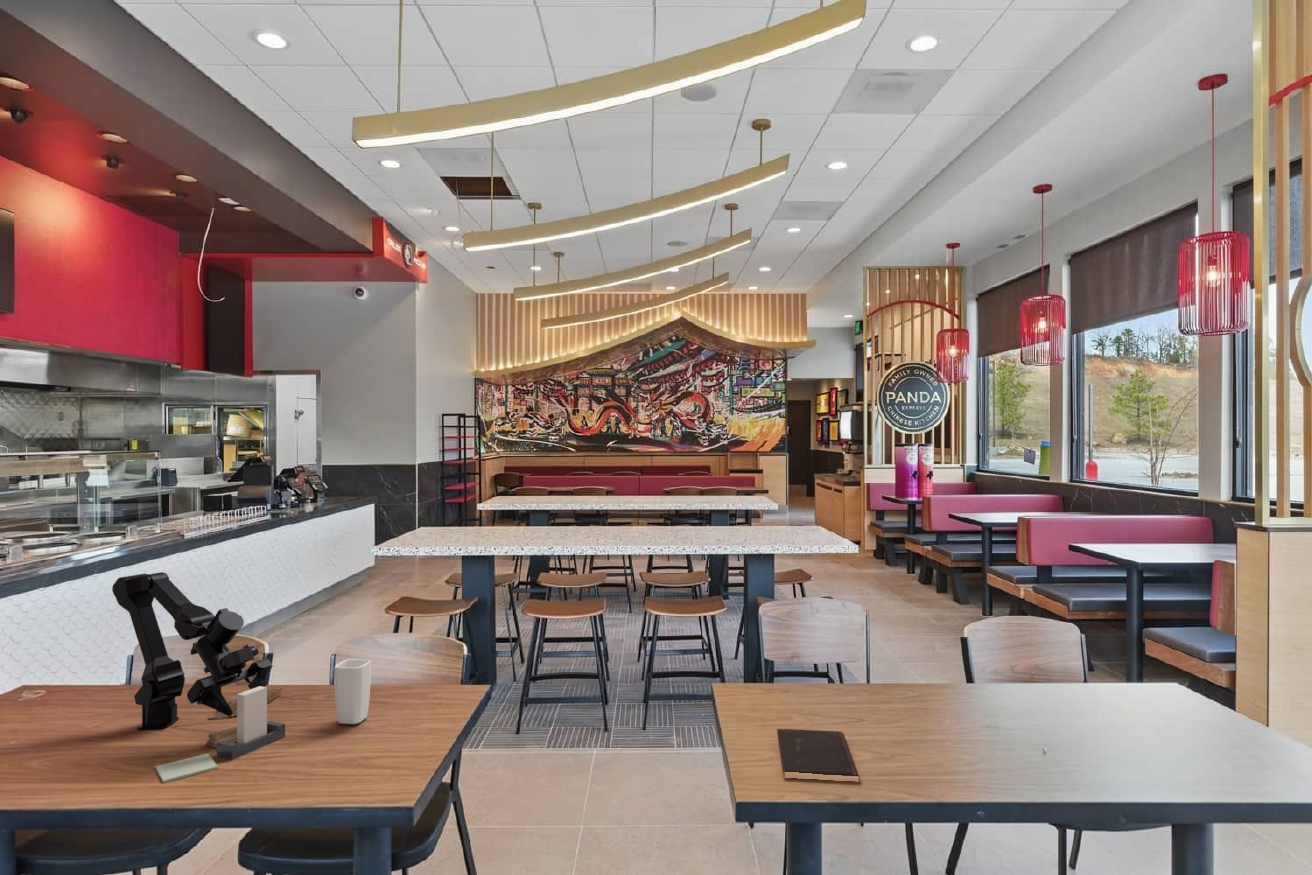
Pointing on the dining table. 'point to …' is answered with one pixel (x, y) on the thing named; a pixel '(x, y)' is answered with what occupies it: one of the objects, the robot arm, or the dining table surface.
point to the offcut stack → (222, 736)
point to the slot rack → (251, 742)
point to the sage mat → (186, 767)
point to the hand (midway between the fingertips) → (249, 708)
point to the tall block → (251, 714)
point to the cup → (352, 690)
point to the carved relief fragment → (233, 705)
